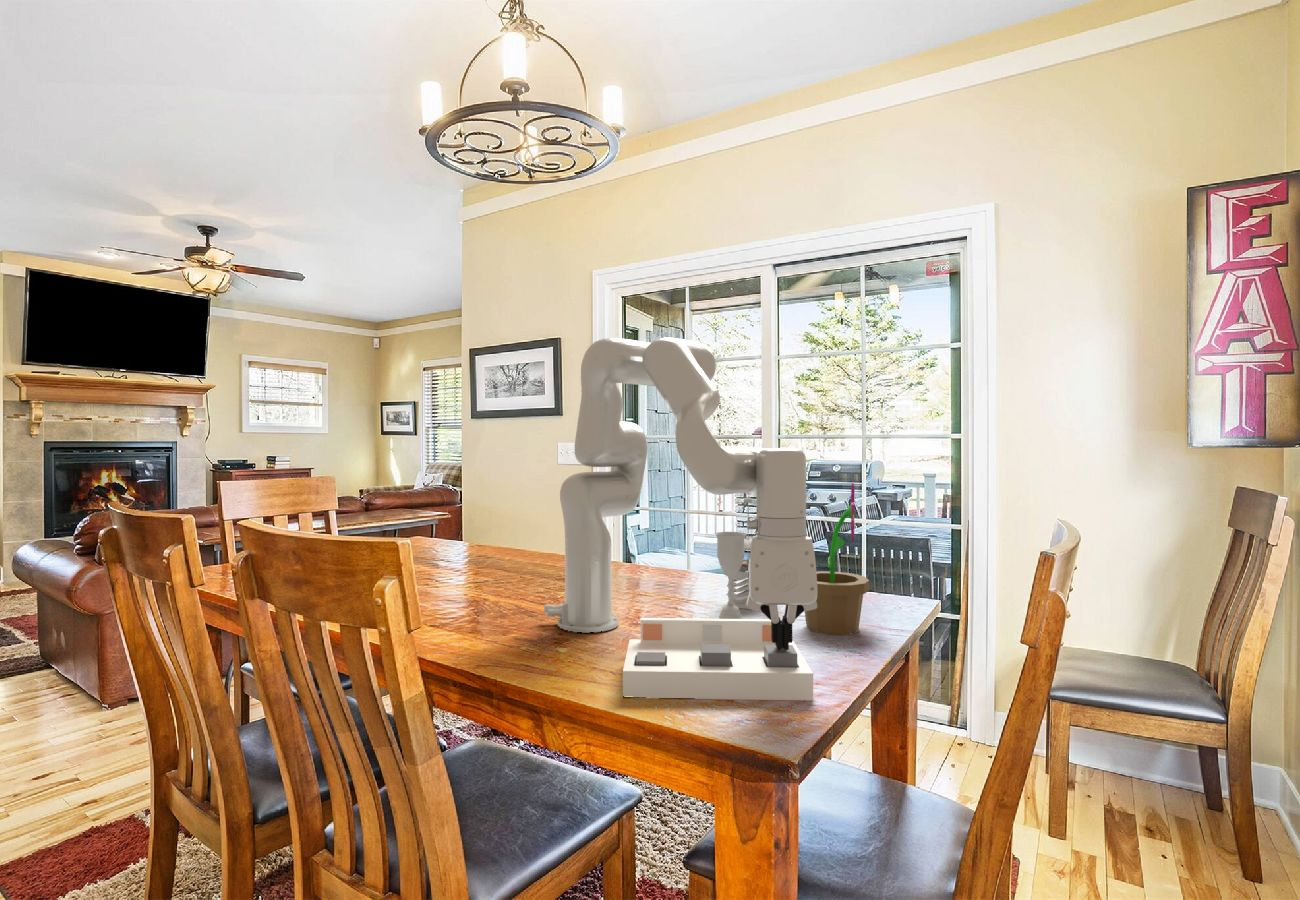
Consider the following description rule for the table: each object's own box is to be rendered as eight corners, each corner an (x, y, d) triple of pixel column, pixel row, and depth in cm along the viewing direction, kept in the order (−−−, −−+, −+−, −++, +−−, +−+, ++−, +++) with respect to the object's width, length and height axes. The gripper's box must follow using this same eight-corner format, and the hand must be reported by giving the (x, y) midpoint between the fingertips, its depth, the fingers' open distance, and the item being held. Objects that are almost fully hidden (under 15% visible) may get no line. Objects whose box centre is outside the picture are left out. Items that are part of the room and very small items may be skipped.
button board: (622, 698, 99) (622, 644, 99) (629, 662, 115) (629, 616, 115) (813, 700, 98) (813, 646, 98) (793, 664, 114) (793, 617, 114)
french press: (726, 598, 163) (726, 495, 162) (774, 599, 162) (775, 495, 161) (727, 608, 153) (727, 498, 153) (778, 609, 152) (779, 499, 152)
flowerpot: (869, 641, 128) (870, 484, 128) (793, 634, 132) (793, 482, 132) (868, 621, 142) (869, 480, 141) (799, 616, 146) (799, 478, 145)
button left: (635, 680, 102) (635, 661, 102) (637, 670, 106) (637, 652, 106) (664, 681, 102) (664, 661, 102) (665, 671, 106) (665, 652, 106)
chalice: (712, 612, 149) (712, 531, 149) (742, 612, 149) (742, 531, 149) (718, 621, 142) (718, 536, 141) (749, 620, 142) (750, 536, 142)
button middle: (701, 672, 102) (701, 652, 102) (700, 662, 106) (700, 643, 106) (730, 672, 101) (730, 652, 101) (728, 663, 106) (728, 644, 106)
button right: (768, 673, 101) (768, 653, 101) (764, 663, 106) (764, 644, 106) (797, 673, 101) (797, 653, 101) (792, 663, 106) (792, 644, 105)
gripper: (734, 531, 100) (735, 654, 100) (836, 531, 99) (836, 655, 99) (730, 525, 107) (731, 640, 107) (824, 525, 107) (825, 640, 107)
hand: (781, 647), depth 103 cm, fingers closed
